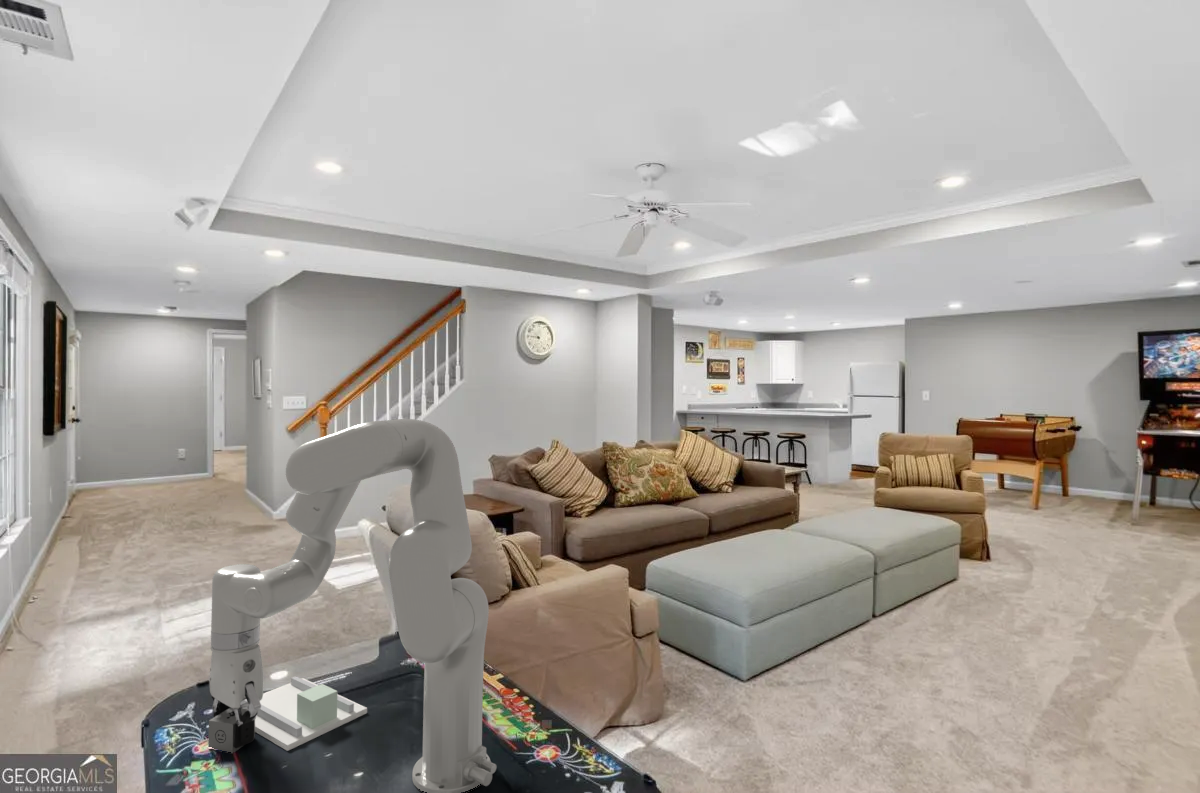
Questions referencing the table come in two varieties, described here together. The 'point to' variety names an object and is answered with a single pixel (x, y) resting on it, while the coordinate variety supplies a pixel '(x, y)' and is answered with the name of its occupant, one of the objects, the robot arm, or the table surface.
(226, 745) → the dice cube
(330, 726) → the rail board
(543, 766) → the table surface
